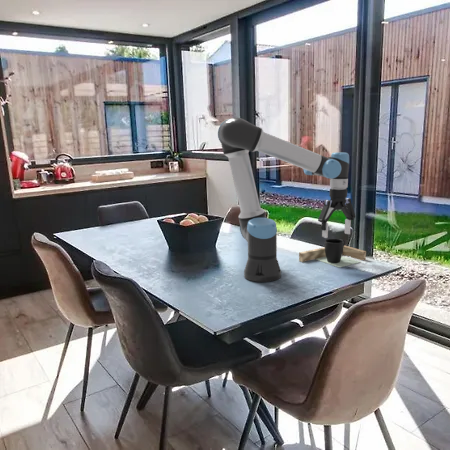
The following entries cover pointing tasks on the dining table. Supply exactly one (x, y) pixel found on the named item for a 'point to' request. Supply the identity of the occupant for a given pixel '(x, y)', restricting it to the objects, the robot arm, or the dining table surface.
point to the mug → (334, 250)
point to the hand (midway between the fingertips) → (336, 235)
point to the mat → (342, 263)
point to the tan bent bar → (321, 253)
